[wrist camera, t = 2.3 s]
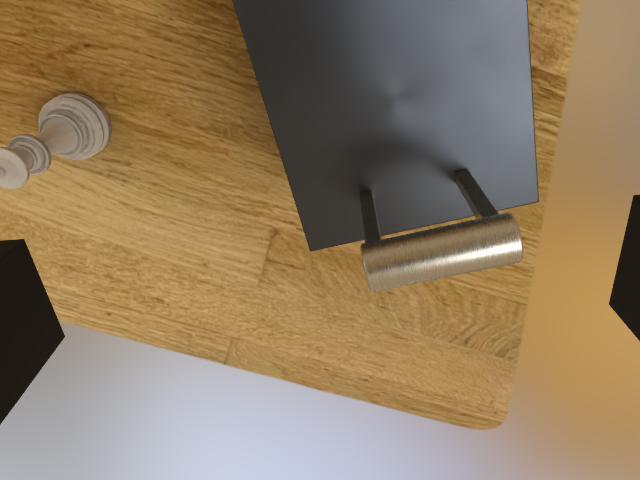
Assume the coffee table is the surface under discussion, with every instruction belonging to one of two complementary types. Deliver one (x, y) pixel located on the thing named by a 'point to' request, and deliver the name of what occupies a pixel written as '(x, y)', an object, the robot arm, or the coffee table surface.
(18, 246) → the robot arm
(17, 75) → the coffee table surface
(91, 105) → the chess piece
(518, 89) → the handled dark lid
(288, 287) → the coffee table surface
